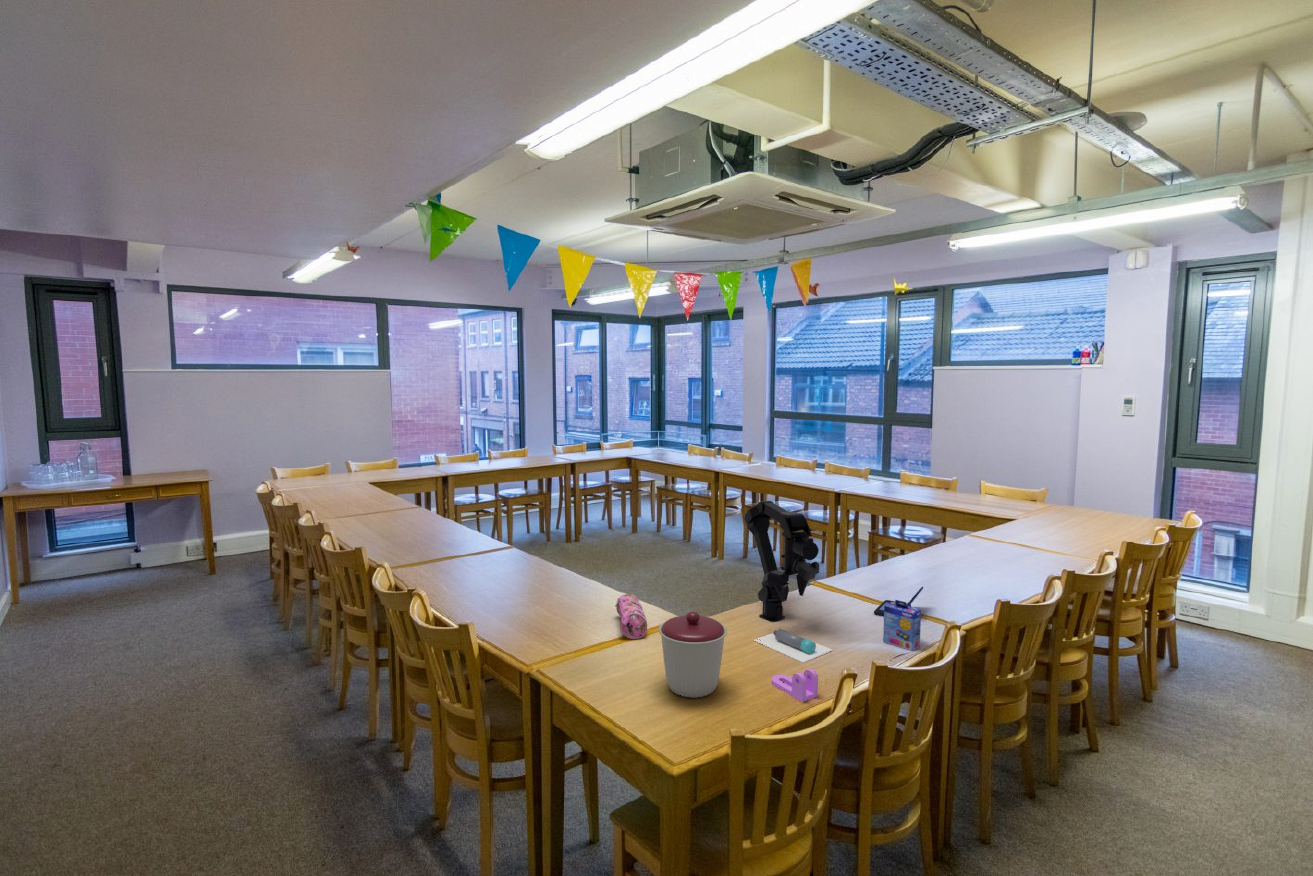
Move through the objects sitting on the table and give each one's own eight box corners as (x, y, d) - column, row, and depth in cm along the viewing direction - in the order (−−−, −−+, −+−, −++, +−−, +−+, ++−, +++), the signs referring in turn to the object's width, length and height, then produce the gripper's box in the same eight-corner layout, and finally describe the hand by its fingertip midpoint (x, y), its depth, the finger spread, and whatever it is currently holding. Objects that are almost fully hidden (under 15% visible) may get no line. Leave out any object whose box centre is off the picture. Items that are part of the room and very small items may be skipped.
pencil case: (614, 617, 221) (614, 592, 221) (640, 616, 223) (640, 591, 222) (620, 642, 200) (620, 615, 200) (649, 640, 202) (649, 613, 201)
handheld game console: (885, 603, 237) (886, 578, 236) (923, 610, 230) (924, 585, 229) (872, 615, 225) (873, 590, 224) (912, 624, 217) (913, 597, 216)
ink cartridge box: (881, 642, 201) (883, 597, 199) (889, 637, 205) (891, 593, 203) (912, 652, 194) (914, 605, 192) (920, 646, 198) (922, 601, 196)
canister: (676, 711, 158) (676, 629, 156) (647, 680, 175) (648, 605, 173) (738, 697, 165) (740, 618, 163) (706, 668, 182) (707, 597, 180)
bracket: (817, 697, 166) (818, 671, 165) (802, 703, 163) (802, 677, 162) (782, 678, 177) (782, 653, 176) (767, 683, 174) (767, 658, 173)
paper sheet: (753, 641, 201) (753, 640, 201) (782, 630, 210) (782, 629, 210) (803, 663, 186) (803, 662, 186) (832, 650, 194) (833, 649, 194)
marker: (774, 640, 203) (769, 633, 201) (780, 632, 204) (776, 624, 203) (811, 656, 191) (806, 649, 190) (817, 647, 193) (813, 639, 191)
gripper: (793, 562, 195) (792, 612, 197) (831, 552, 207) (830, 599, 208) (766, 554, 204) (765, 602, 205) (804, 545, 215) (803, 590, 217)
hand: (792, 598), depth 209 cm, fingers open, 9 cm apart
